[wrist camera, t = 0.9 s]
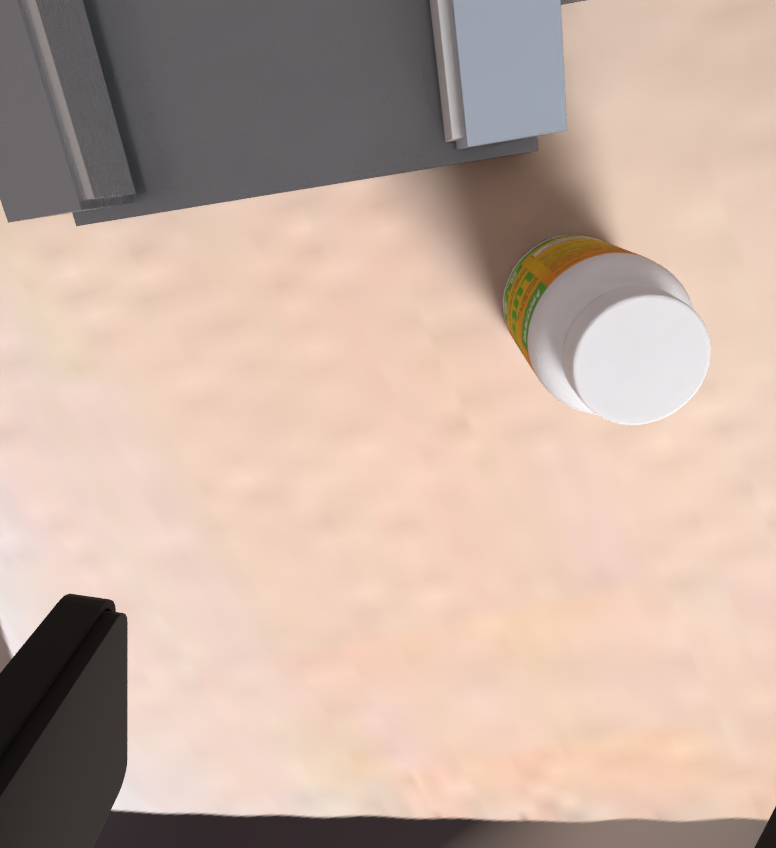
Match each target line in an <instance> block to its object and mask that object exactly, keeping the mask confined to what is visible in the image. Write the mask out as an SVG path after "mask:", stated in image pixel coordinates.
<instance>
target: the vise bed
mask: <svg viewBox="0 0 776 848" xmlns="http://www.w3.org/2000/svg"><path fill="white" fill-rule="evenodd" d="M533 151H538V144H537V136H535V137H529V138H523V139H517V140H511V141H505V142H499V143H493V144H486V145H480V146H474V147H468V148H462V149H457V148H456V140H455V141H449V142H445V133H444V124H443V115H442V106H441V97H440V88H439V79H438V70H437V61H436V53H435V44H434V35H433V26H432V17H431V8H430V0H0V200H1V203H2V206H3V208H4V211H5V214H6V217H7V220H8V222H14V221H21V220H28V219H35V218H41V217H48V216H55V215H61V214H68V213H73V217H74V220H75V223H76V226H80V225H86V224H92V223H98V222H104V221H111V220H117V219H123V218H129V217H135V216H141V215H147V214H153V213H160V212H166V211H172V210H178V209H184V208H190V207H196V206H202V205H209V204H215V203H221V202H227V201H233V200H239V199H245V198H251V197H258V196H264V195H270V194H276V193H282V192H288V191H294V190H300V189H307V188H313V187H319V186H325V185H331V184H337V183H343V182H349V181H356V180H362V179H368V178H374V177H380V176H386V175H392V174H398V173H404V172H411V171H417V170H423V169H429V168H435V167H441V166H447V165H453V164H460V163H466V162H472V161H478V160H484V159H490V158H496V157H502V156H509V155H515V154H521V153H527V152H533Z"/></svg>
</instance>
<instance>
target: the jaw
mask: <svg viewBox="0 0 776 848" xmlns="http://www.w3.org/2000/svg"><path fill="white" fill-rule="evenodd" d="M579 1H585V0H430V8H431V17H432V26H433V35H434V44H435V53H436V61H437V70H438V79H439V88H440V97H441V106H442V115H443V124H444V133H445V142H449V141H455V140H456V148H457V149H462V148H468V147H474V146H480V145H486V144H493V143H499V142H505V141H511V140H517V139H523V138H529V137H535V136H541V135H545V134H550V133H555V132H560V131H565V130H567V120H566V100H565V80H564V60H563V41H562V21H561V5H563V4H568V3H574V2H579Z"/></svg>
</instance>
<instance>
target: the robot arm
mask: <svg viewBox="0 0 776 848" xmlns="http://www.w3.org/2000/svg"><path fill="white" fill-rule="evenodd" d="M126 767H127V617H126V614H124V613H118V612H116V610H115V604H114V602H113V601H112V600H109V599H102V598H96V597H89V596H82V595H75V594H67V595H65V596H64V597H63V598H62V599H61V600H60V601H59V602H58V603H57V604H56V606H55V607H54V608H53V609H52V610H51V612H50V613H49V614H48V615H47V617H46V618H45V619H44V620H43V621H42V623H41V624H40V625H39V626H38V628H37V629H36V630H35V631H34V633H33V634H32V635H31V636H30V637H29V639H28V640H27V641H26V642H25V644H24V645H23V646H22V647H21V648H20V650H19V651H18V652H17V653H16V655H15V656H14V657H13V658H12V660H11V661H10V662H9V663H8V664H7V666H6V667H5V668H4V669H3V671H2V672H1V673H0V848H93V847H94V844H95V842H96V840H97V838H98V836H99V833H100V832H101V829H102V827H103V825H104V823H105V821H106V819H107V817H108V815H109V813H110V810H111V808H112V806H113V804H114V802H115V800H116V798H117V796H118V794H119V791H120V789H121V786H122V783H123V780H124V776H125V772H126ZM755 848H776V807H775V809H774V811H773V813H772V815H771V817H770V819H769V821H768V823H767V825H766V827H765V829H764V831H763V833H762V835H761V836H760V838H759V840H758V842H757V844H756V846H755Z"/></svg>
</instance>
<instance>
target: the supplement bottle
mask: <svg viewBox="0 0 776 848" xmlns="http://www.w3.org/2000/svg"><path fill="white" fill-rule="evenodd" d="M503 313H504V318H505V322H506V325H507V327H508V330H509V332H510V334H511V336H512V338H513V339H514V341H515V343H516V344H517V346H518V347H519V349H520V350H521V352H522V354H523V355H524V357H525V358H526V360H527V362H528V363H529V365H530V366H531V368H532V370H533V371H534V373H535V374H536V376H537V377H538V379H539V380H540V382H541V383H542V384H543V386H544V387H545V388H546V389H547V390H548V392H549V393H550V394H552V395H553V396H554V397H555V398H556V399H558V400H559V401H560V402H562V403H563V404H565V405H567V406H569V407H571V408H573V409H575V410H578V411H581V412H585V413H590V414H596V415H598V416H600V417H602V418H604V419H606V420H608V421H612V422H615V423H619V424H629V425H636V424H645V423H650V422H654V421H657V420H660V419H662V418H664V417H667V416H669V415H670V414H672V413H674V412H675V411H677V410H678V409H679V408H681V407H682V406H683V405H685V404H686V403H687V402H688V401H689V400H690V399H691V398H692V397H693V395H694V394H695V393H696V392H697V390H698V389H699V387H700V386H701V384H702V382H703V380H704V378H705V375H706V373H707V370H708V366H709V362H710V354H711V350H710V340H709V335H708V332H707V329H706V326H705V324H704V323H703V321H702V319H701V318H700V317H699V315H698V314H697V313H696V312H695V311H694V309H693V306H692V303H691V300H690V297H689V295H688V294H687V292H686V290H685V288H684V287H683V285H682V284H681V283H680V282H679V280H678V279H677V278H676V277H675V276H674V275H673V274H672V273H671V272H670V271H668V270H667V269H666V268H664V267H663V266H661V265H659V264H657V263H656V262H654V261H652V260H650V259H648V258H646V257H643V256H641V255H638V254H635V253H632V252H630V251H627V250H625V249H622V248H619V247H617V246H614V245H612V244H609V243H607V242H605V241H602V240H600V239H597V238H594V237H590V236H585V235H575V234H572V235H561V236H556V237H553V238H550V239H548V240H545V241H543V242H541V243H539V244H538V245H536V246H535V247H533V248H532V249H530V250H529V251H528V252H527V253H526V254H525V255H523V256H522V258H521V259H520V260H519V261H518V262H517V264H516V265H515V266H514V268H513V269H512V271H511V273H510V275H509V277H508V280H507V283H506V286H505V290H504V295H503Z"/></svg>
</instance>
